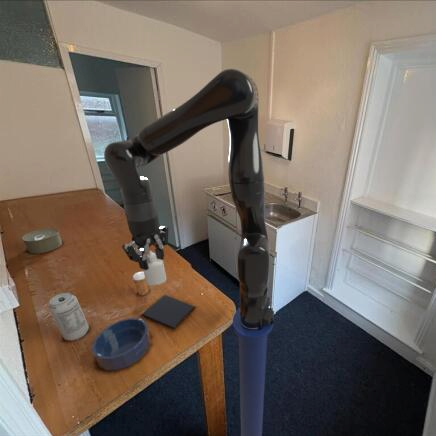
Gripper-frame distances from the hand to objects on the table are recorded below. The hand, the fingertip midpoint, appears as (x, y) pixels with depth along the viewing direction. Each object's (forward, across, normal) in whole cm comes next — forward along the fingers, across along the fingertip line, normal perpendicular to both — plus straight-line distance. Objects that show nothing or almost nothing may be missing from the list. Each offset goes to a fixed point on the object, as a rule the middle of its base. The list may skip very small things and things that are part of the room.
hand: (153, 263), depth 72 cm
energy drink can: (+23, -16, +19) cm, 34 cm away
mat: (+23, +2, 0) cm, 23 cm away
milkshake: (+23, +5, +16) cm, 29 cm away
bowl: (+23, -14, +1) cm, 27 cm away
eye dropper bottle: (+8, 0, 0) cm, 8 cm away
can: (+23, +10, +82) cm, 86 cm away
